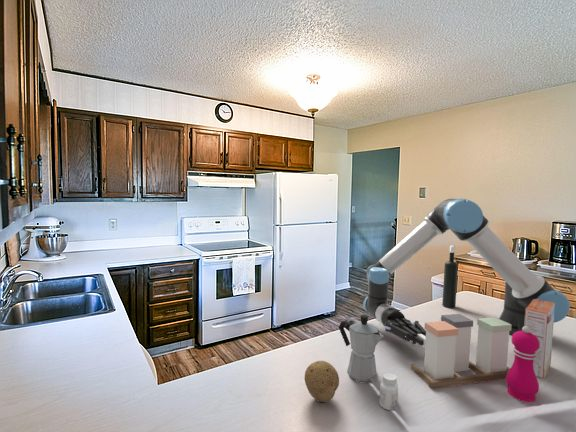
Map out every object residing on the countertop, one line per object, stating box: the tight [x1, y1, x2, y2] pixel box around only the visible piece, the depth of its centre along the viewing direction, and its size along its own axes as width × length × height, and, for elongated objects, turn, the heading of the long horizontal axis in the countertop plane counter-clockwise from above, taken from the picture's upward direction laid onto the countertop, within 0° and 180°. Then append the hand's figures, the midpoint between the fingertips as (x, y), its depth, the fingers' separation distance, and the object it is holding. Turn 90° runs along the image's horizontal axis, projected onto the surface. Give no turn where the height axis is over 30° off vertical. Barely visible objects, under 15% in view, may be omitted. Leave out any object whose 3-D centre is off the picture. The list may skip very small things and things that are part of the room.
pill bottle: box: [379, 372, 399, 411], centre depth 83 cm, size 4×4×8 cm
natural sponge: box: [304, 360, 340, 403], centre depth 85 cm, size 9×9×10 cm
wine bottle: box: [441, 244, 459, 309], centre depth 159 cm, size 6×6×30 cm
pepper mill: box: [505, 326, 540, 403], centre depth 87 cm, size 7×7×20 cm
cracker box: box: [524, 299, 555, 379], centre depth 102 cm, size 14×6×21 cm, turn 134°
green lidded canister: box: [475, 316, 512, 373], centre depth 98 cm, size 6×7×16 cm
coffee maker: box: [338, 314, 385, 383], centre depth 97 cm, size 15×9×18 cm, turn 47°
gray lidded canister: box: [440, 313, 474, 373], centre depth 100 cm, size 6×7×16 cm
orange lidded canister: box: [423, 320, 458, 380], centre depth 94 cm, size 6×7×16 cm
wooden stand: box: [410, 360, 511, 390], centre depth 98 cm, size 13×31×3 cm, turn 103°
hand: (432, 347), depth 96 cm, fingers closed
